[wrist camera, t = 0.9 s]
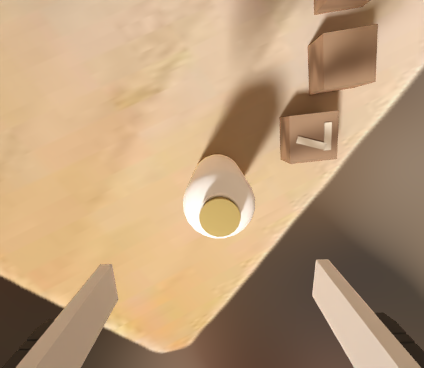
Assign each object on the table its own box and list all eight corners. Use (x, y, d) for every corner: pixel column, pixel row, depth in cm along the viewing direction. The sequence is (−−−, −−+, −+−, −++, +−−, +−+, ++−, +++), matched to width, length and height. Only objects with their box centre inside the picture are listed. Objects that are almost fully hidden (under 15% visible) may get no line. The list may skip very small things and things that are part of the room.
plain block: (307, 46, 33) (323, 33, 28) (353, 38, 33) (377, 23, 28) (308, 95, 35) (324, 89, 30) (352, 87, 35) (375, 81, 30)
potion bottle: (236, 201, 39) (254, 260, 22) (191, 196, 39) (174, 251, 22) (244, 156, 37) (270, 182, 20) (196, 150, 37) (180, 171, 20)
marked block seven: (279, 117, 36) (289, 116, 31) (321, 112, 36) (339, 110, 31) (280, 159, 38) (290, 164, 33) (320, 154, 37) (337, 159, 32)
